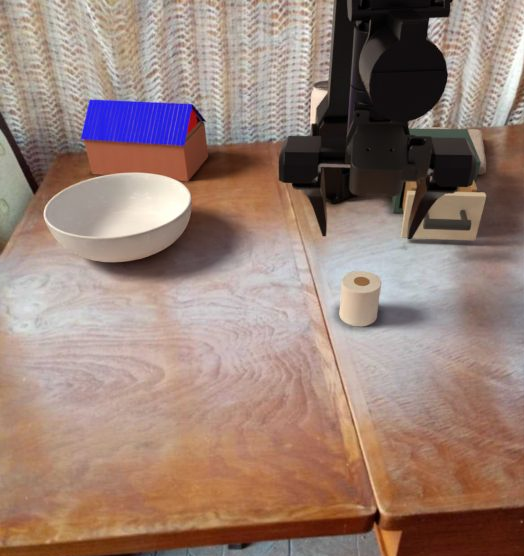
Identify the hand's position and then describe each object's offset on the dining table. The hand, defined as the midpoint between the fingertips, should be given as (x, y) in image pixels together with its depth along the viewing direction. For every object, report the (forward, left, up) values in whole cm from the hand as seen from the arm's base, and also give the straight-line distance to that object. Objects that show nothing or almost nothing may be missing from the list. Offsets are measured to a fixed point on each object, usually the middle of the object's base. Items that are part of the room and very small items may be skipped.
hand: (366, 236), depth 59 cm
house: (-59, +3, -11) cm, 60 cm away
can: (-42, +33, -11) cm, 55 cm away
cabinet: (-16, +32, -11) cm, 37 cm away
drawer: (-7, +23, -10) cm, 27 cm away
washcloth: (-24, +48, -11) cm, 55 cm away
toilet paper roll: (0, 0, -11) cm, 11 cm away
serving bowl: (-35, -14, -11) cm, 39 cm away
